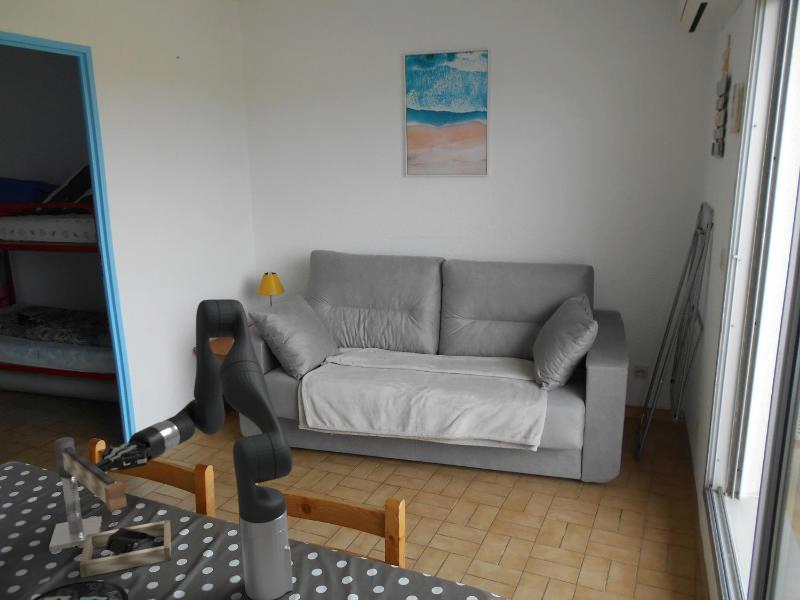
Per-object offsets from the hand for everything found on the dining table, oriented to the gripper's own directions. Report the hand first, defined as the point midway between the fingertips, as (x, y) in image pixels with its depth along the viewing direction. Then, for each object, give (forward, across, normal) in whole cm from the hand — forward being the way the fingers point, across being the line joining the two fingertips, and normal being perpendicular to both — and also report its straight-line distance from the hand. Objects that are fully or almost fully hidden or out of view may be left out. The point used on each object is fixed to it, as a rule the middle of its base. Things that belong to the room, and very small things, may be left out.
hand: (93, 471), depth 143 cm
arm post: (-2, -12, +20) cm, 23 cm away
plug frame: (-2, +5, +20) cm, 21 cm away
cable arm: (+2, 0, +4) cm, 4 cm away
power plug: (-3, +6, +20) cm, 21 cm away
